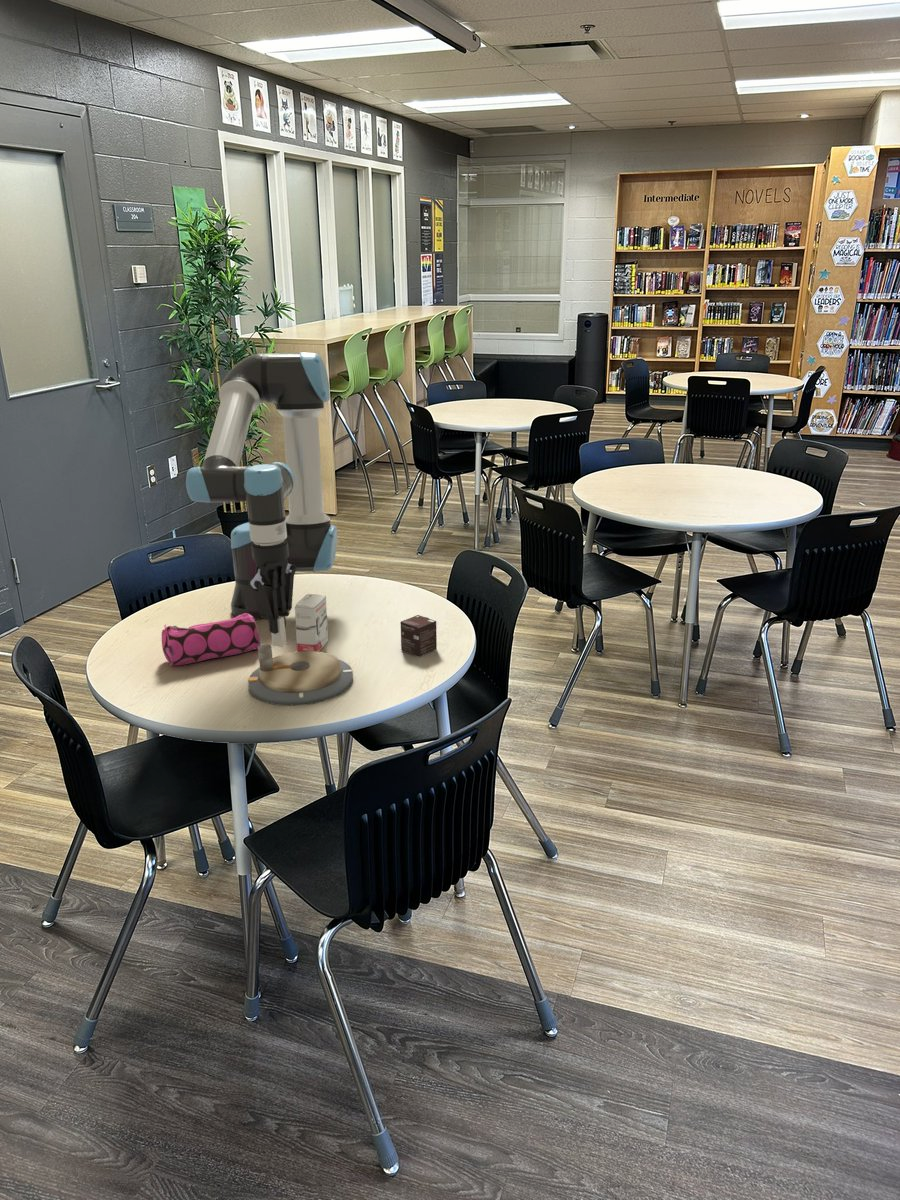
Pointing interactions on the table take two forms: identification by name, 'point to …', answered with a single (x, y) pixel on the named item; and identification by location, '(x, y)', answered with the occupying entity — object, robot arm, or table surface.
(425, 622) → the box
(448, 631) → the table surface
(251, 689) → the dial plate
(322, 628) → the ink box
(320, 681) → the dial
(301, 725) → the table surface
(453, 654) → the table surface
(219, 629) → the pencil case
